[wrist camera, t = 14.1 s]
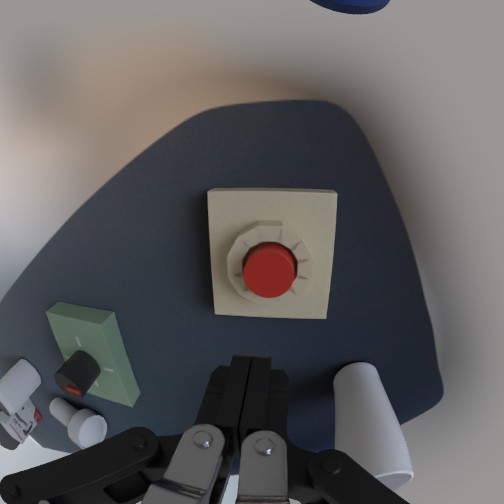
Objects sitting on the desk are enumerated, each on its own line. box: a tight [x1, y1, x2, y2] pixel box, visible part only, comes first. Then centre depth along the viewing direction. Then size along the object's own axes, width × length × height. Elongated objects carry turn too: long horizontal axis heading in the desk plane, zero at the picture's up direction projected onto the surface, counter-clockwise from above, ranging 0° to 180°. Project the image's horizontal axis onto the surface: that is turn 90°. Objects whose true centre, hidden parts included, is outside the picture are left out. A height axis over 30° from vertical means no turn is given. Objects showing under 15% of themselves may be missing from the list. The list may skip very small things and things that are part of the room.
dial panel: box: [46, 302, 140, 407], centre depth 31 cm, size 14×10×3 cm
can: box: [0, 359, 41, 416], centre depth 33 cm, size 6×6×12 cm
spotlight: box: [49, 397, 107, 449], centre depth 37 cm, size 8×11×8 cm
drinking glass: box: [333, 362, 414, 492], centre depth 22 cm, size 7×7×15 cm
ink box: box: [0, 398, 42, 444], centre depth 41 cm, size 9×5×12 cm, turn 0°
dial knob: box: [54, 350, 101, 400], centre depth 27 cm, size 4×4×5 cm
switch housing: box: [207, 188, 337, 319], centre depth 23 cm, size 11×10×4 cm
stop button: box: [243, 244, 294, 298], centre depth 21 cm, size 4×4×2 cm
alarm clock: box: [0, 409, 20, 450], centre depth 46 cm, size 16×11×16 cm
